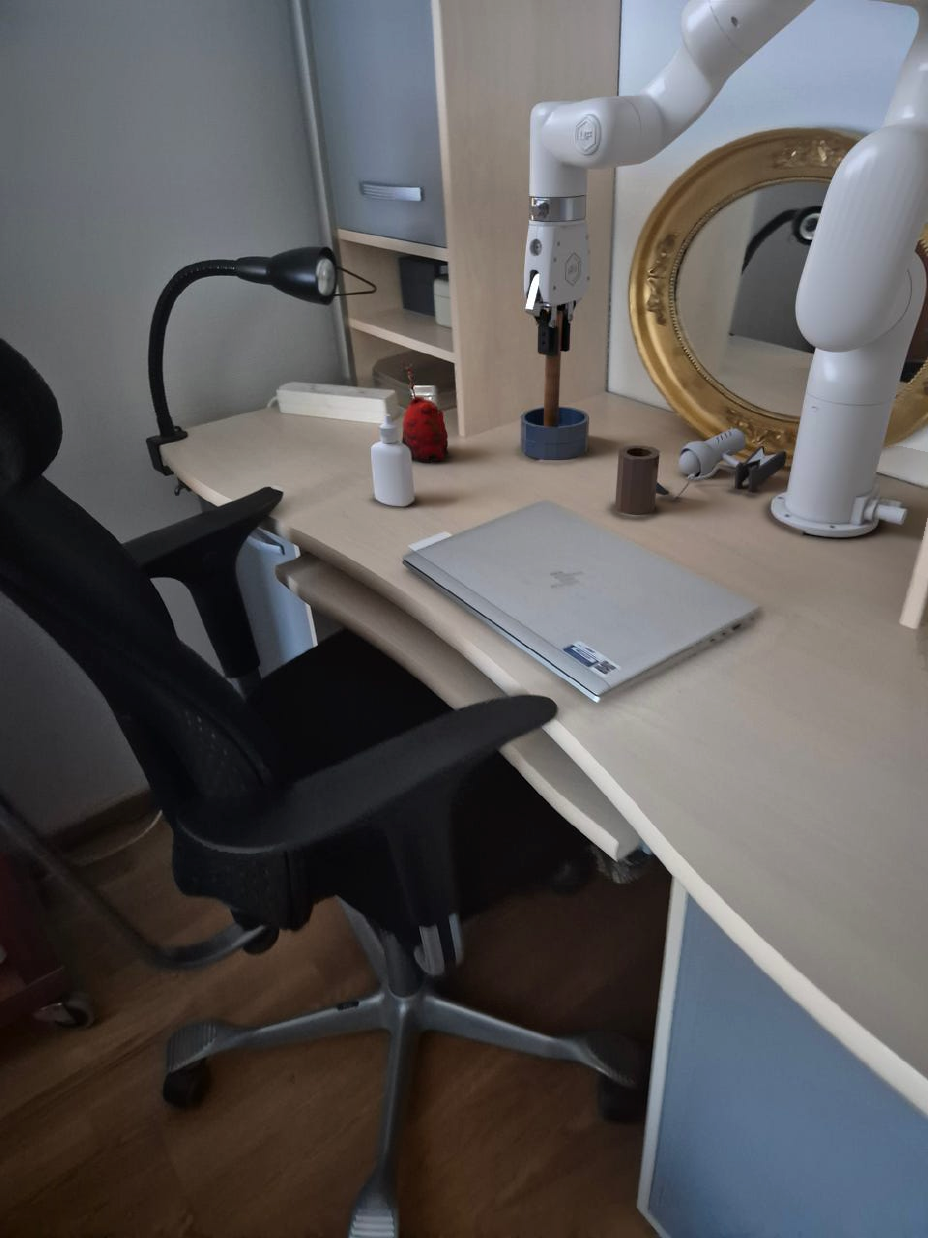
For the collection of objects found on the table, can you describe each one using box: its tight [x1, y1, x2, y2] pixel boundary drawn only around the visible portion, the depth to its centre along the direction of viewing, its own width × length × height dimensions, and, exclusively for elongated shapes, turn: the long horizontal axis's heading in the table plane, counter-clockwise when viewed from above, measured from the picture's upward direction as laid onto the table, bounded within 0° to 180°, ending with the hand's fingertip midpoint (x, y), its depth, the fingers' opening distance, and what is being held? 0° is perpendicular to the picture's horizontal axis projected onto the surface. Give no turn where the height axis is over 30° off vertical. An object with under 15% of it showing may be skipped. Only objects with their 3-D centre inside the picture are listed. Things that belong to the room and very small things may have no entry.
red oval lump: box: [400, 360, 449, 463], centre depth 121 cm, size 8×7×15 cm
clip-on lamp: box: [656, 427, 787, 498], centre depth 110 cm, size 12×6×18 cm
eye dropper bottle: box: [370, 413, 415, 507], centre depth 108 cm, size 4×6×12 cm
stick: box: [543, 310, 563, 427], centre depth 119 cm, size 2×2×17 cm
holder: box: [614, 444, 660, 516], centre depth 103 cm, size 5×5×8 cm
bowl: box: [520, 406, 590, 461], centre depth 123 cm, size 10×10×6 cm
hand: (553, 351), depth 117 cm, fingers closed on stick, 2 cm apart
